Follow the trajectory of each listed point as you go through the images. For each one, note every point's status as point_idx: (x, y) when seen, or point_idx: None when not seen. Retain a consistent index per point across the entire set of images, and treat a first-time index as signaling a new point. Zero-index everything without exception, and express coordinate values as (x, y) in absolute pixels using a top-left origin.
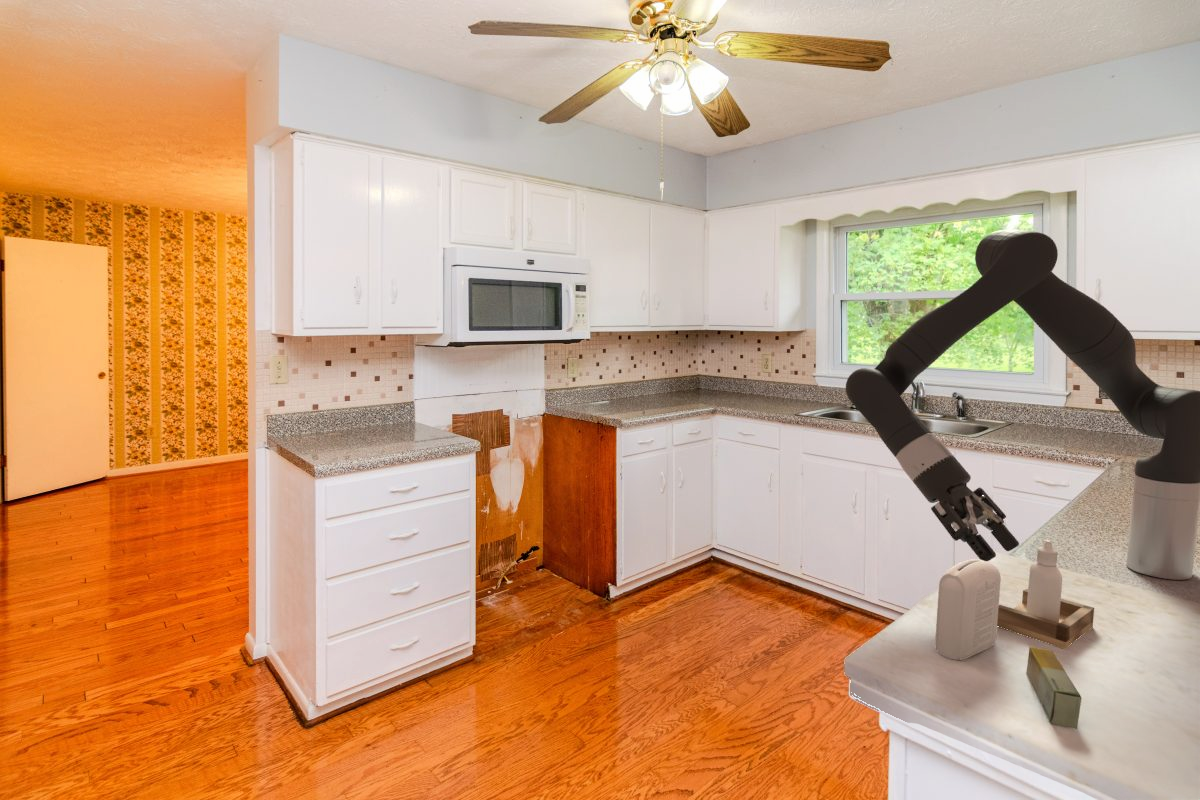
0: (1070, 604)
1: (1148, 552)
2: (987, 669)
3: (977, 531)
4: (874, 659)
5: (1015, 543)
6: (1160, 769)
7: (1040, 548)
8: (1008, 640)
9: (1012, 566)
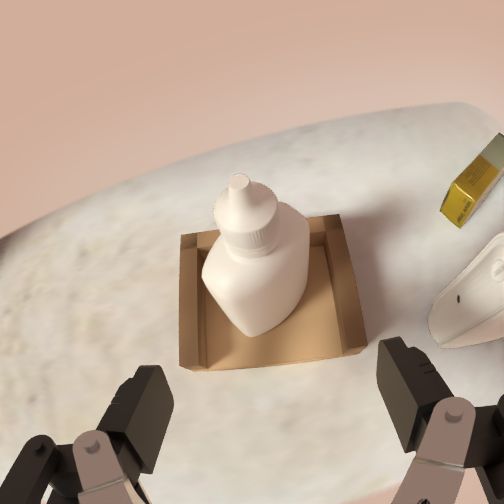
0: (197, 267)
1: None
2: None
3: (435, 412)
4: None
5: (156, 372)
6: (466, 112)
7: (261, 217)
8: (393, 302)
9: (17, 451)
